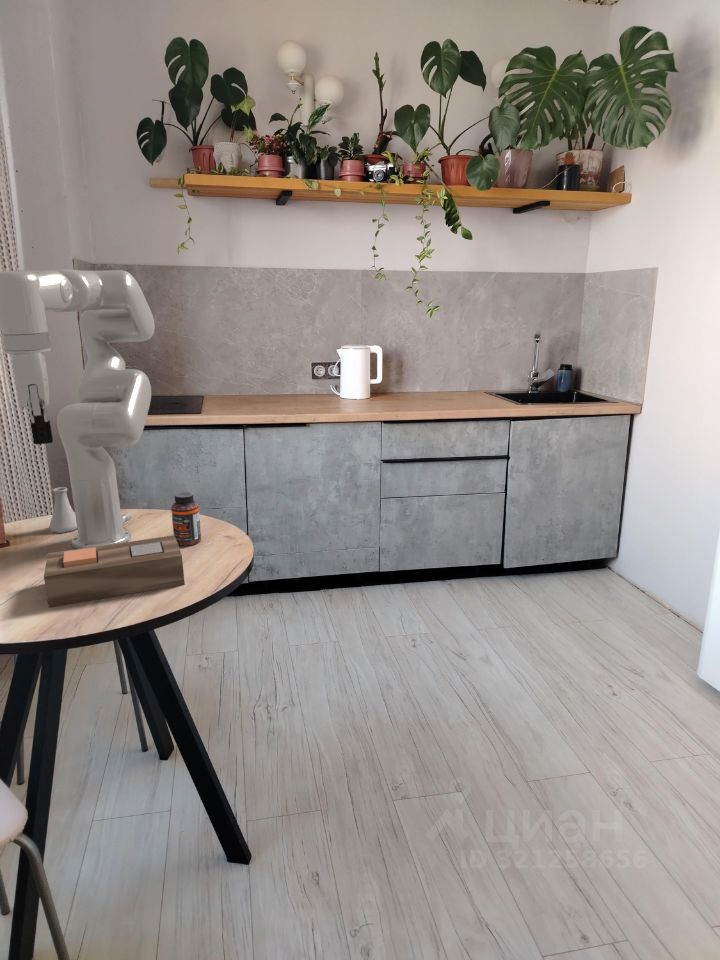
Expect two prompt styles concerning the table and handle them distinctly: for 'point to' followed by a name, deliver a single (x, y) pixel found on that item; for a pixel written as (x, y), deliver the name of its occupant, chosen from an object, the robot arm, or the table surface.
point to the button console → (113, 572)
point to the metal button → (146, 549)
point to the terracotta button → (80, 557)
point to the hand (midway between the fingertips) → (43, 442)
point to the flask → (62, 513)
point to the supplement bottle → (186, 519)
